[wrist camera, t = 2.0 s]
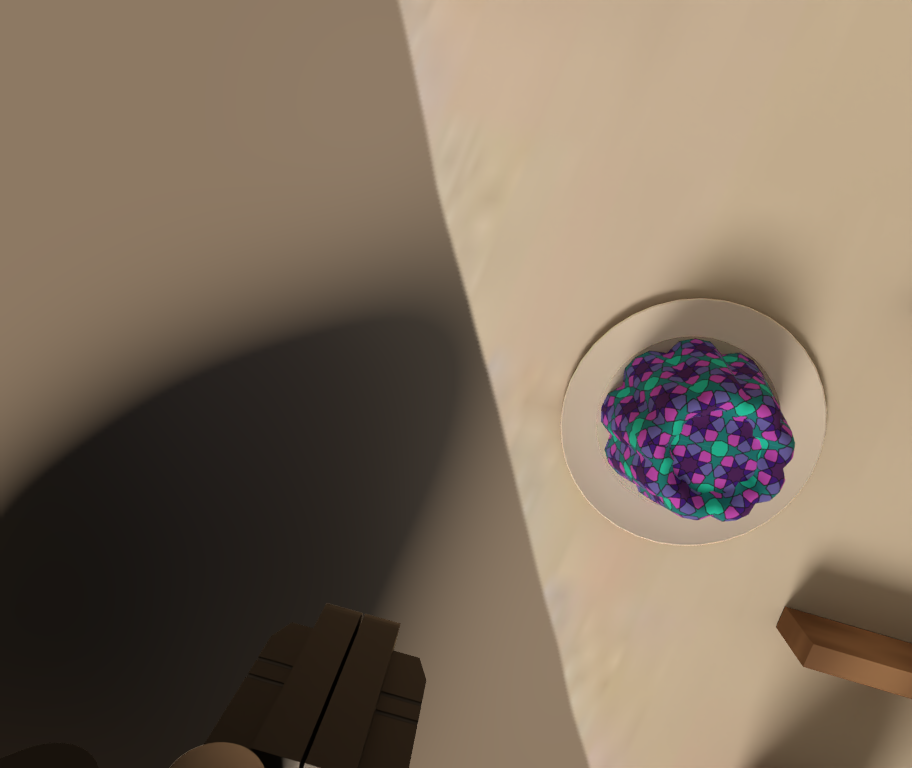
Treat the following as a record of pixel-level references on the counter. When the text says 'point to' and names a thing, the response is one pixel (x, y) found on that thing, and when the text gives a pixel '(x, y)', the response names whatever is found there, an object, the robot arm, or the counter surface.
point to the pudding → (694, 423)
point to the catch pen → (848, 651)
